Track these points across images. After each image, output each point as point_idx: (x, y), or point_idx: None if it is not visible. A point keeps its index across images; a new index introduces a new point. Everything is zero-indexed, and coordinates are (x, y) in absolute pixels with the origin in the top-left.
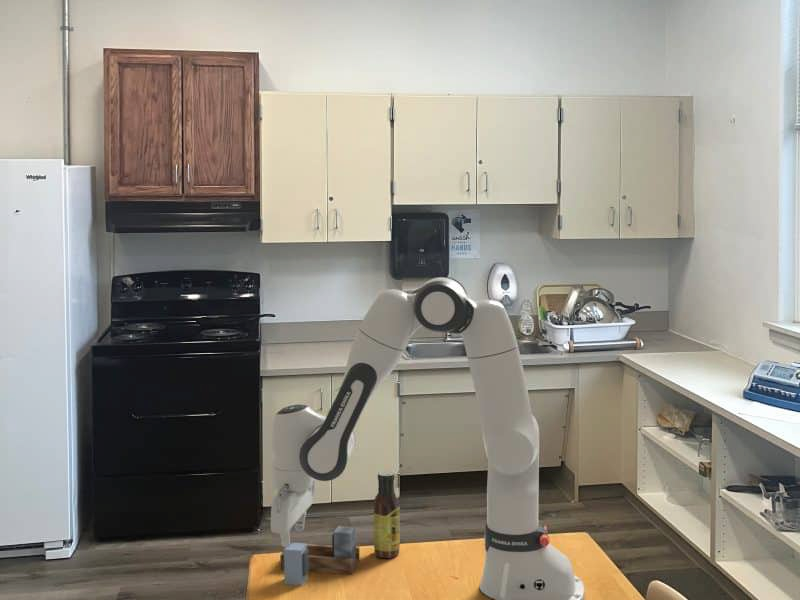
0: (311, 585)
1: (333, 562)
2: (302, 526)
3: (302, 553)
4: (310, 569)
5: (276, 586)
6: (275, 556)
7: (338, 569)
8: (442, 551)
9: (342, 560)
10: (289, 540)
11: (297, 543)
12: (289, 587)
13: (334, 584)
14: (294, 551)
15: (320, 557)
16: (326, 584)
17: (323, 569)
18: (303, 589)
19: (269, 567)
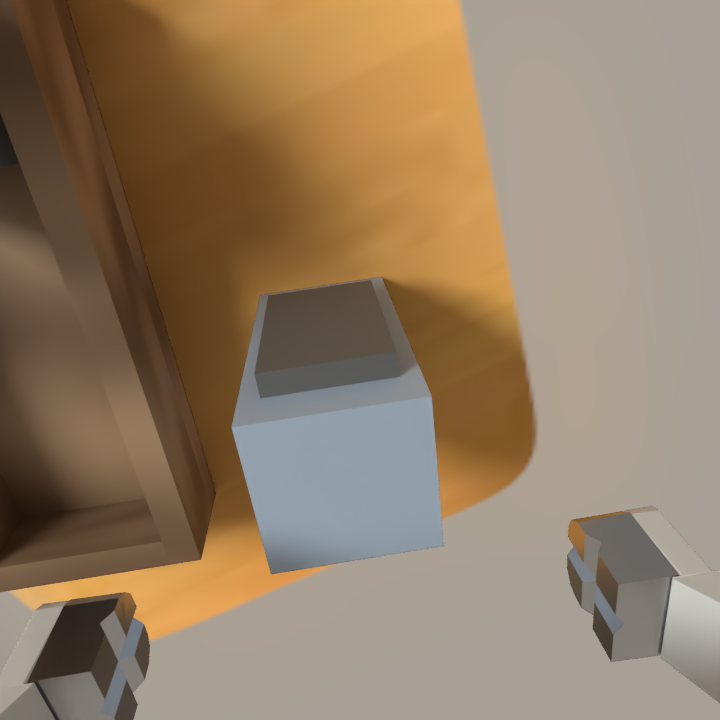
0: (367, 213)
1: (76, 144)
2: (97, 636)
3: (384, 379)
4: (160, 323)
5: (439, 410)
6: (68, 589)
7: (81, 93)
8: None
9: (27, 43)
10: (691, 558)
11: (266, 506)
12: (433, 336)
13: (297, 39)
14: (434, 451)
15: (95, 281)
16: (318, 108)
17: (127, 227)
18: (440, 239)
19: (217, 550)
